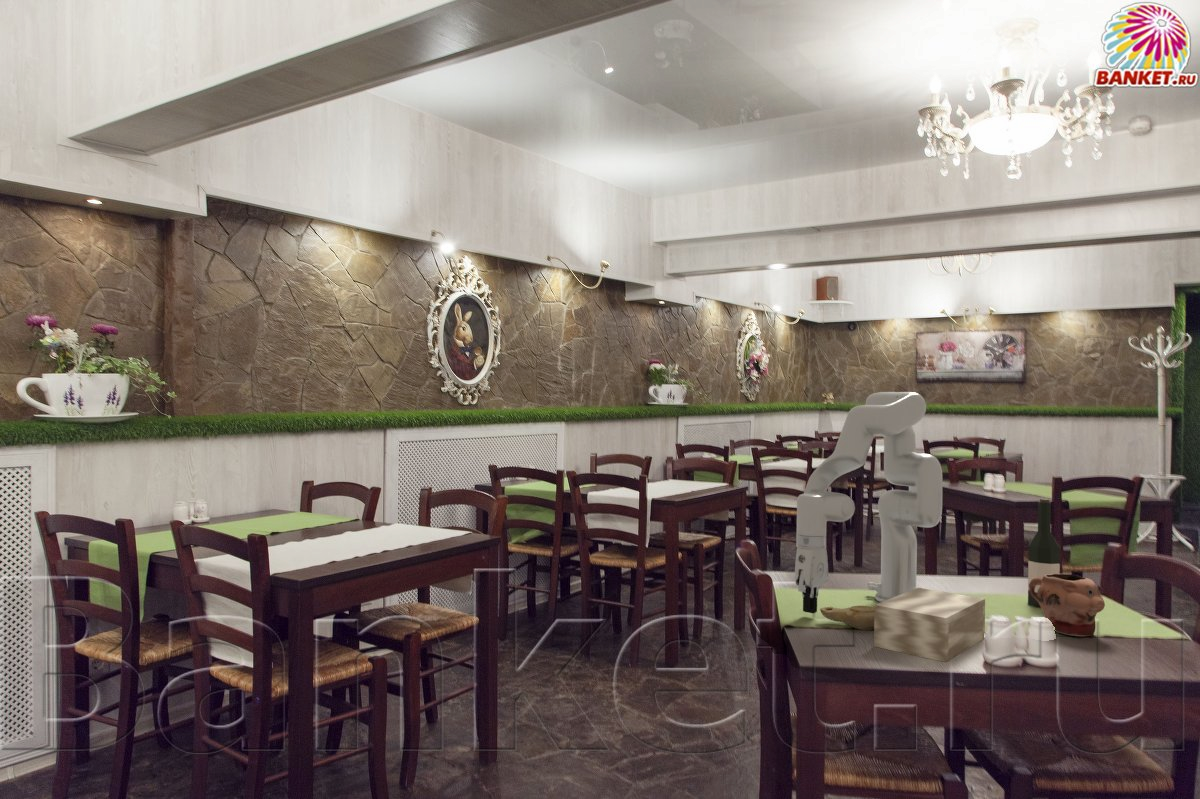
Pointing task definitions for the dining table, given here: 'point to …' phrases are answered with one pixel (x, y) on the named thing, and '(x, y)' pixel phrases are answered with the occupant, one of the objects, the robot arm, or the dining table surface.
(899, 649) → the mottled beige box
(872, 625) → the oil lamp
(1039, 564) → the wine bottle
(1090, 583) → the animal face pitcher
